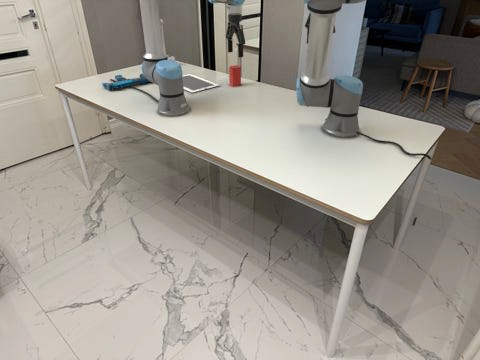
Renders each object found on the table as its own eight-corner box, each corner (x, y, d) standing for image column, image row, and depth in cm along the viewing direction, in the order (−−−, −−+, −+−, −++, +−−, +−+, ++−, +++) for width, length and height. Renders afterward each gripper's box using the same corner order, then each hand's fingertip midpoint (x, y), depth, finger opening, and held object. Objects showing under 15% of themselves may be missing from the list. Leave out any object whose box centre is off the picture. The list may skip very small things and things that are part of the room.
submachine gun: (146, 68, 225) (164, 74, 209) (147, 73, 227) (165, 80, 210) (94, 78, 207) (110, 85, 190) (96, 84, 209) (112, 92, 192)
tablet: (163, 80, 212) (163, 79, 212) (190, 74, 223) (190, 73, 223) (192, 93, 192) (192, 92, 192) (220, 85, 203) (220, 85, 203)
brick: (237, 83, 208) (237, 65, 202) (240, 85, 204) (240, 66, 198) (229, 84, 206) (229, 66, 200) (232, 86, 202) (232, 68, 196)
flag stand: (173, 62, 249) (168, 17, 233) (177, 66, 239) (172, 20, 223) (155, 64, 245) (149, 18, 229) (158, 68, 235) (152, 21, 219)
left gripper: (219, 11, 191) (220, 50, 202) (239, 17, 172) (239, 60, 184) (231, 10, 193) (231, 49, 205) (252, 16, 175) (251, 58, 186)
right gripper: (300, -5, 163) (296, 41, 175) (334, -1, 145) (327, 51, 156) (313, -6, 166) (308, 40, 178) (348, -1, 147) (340, 50, 159)
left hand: (235, 54), depth 194 cm, fingers open, 13 cm apart
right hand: (317, 45), depth 167 cm, fingers open, 13 cm apart
